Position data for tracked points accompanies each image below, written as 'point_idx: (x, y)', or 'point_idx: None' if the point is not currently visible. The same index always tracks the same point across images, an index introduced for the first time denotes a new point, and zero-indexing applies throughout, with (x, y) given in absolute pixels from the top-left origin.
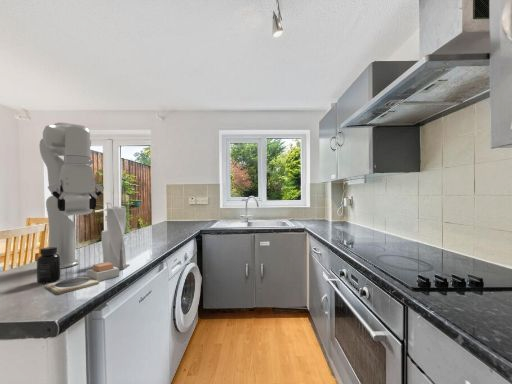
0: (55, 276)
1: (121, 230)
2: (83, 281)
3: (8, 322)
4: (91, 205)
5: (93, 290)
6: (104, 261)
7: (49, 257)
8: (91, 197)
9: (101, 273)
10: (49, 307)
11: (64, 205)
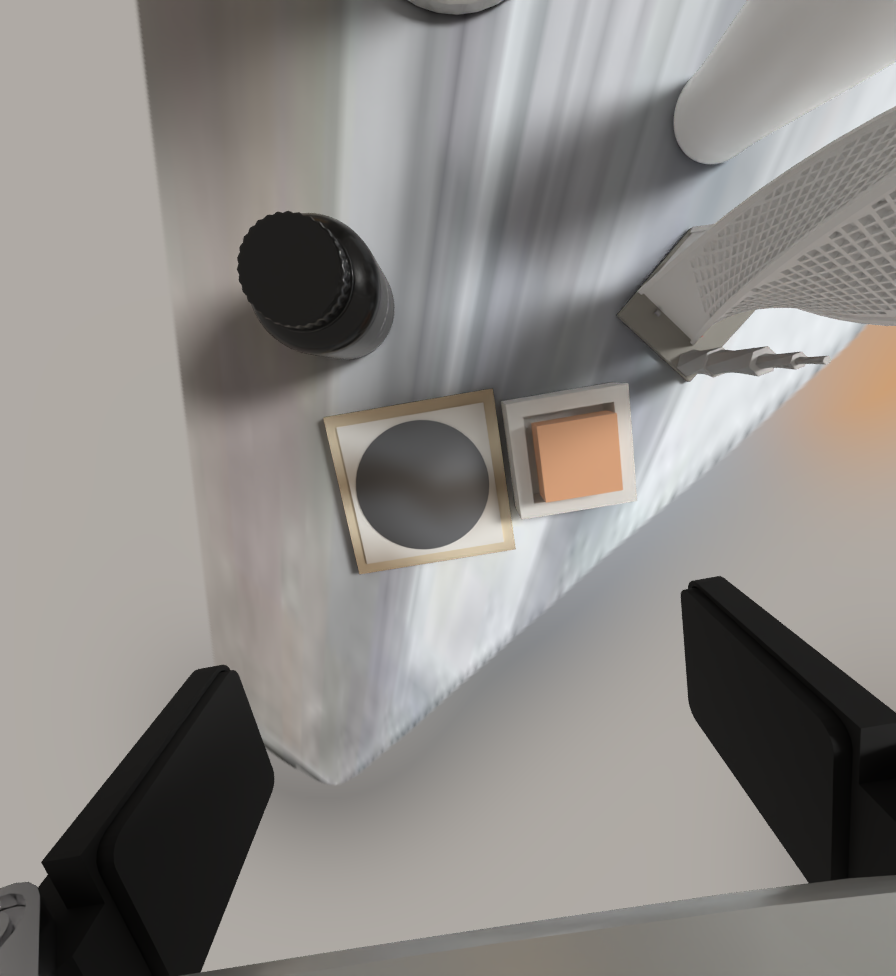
0: (366, 353)
1: None
2: (461, 512)
3: None
4: (721, 703)
5: (472, 614)
6: (680, 123)
7: (310, 346)
8: (886, 851)
9: (543, 514)
10: (326, 681)
11: (233, 868)
